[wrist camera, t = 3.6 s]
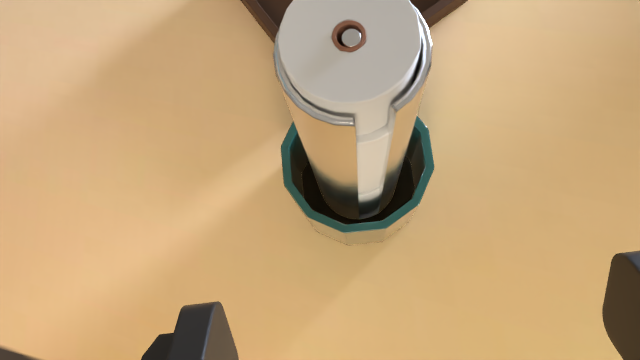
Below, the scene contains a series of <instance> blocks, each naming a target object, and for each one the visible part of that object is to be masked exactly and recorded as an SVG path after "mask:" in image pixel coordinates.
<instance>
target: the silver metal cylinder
mask: <svg viewBox="0 0 640 360" xmlns="http://www.w3.org/2000/svg"><path fill="white" fill-rule="evenodd" d="M273 59H274V66H275V72H276V77H277V79H278V82H279V84H280V87H281V90H282V92H283V95H284V98H285V100H286V103H287V105H288V108H289V111H290V113H291V116H292V118H293V121H294V124H295V126H296V129H297V131H298V134H299V137H300V139H301V142H302V144H303V147H304V150H305V152H306V155H307V157H308V160H309V163H310V165H311V168H312V170H313V173H314V176H315V178H316V181H317V183H318V186H319V189H320V191H321V194H322V196H323V198H324V200H325V202H326V203H327V205H328V206H329V207H330V208H331V209H332V210H333V211H334V212H336V213H337V214H339V215H341V216H343V217H346V218H349V219H365V218H370V217H372V216H374V215H376V214H378V213H380V212H381V211H382V210H383V209H384V208H386V207H387V205H388V204H389V202H390V201H391V199H392V197H393V194H394V191H395V188H396V185H397V181H398V178H399V175H400V171H401V168H402V164H403V161H404V158H405V154H406V151H407V147H408V144H409V140H410V137H411V134H412V130H413V127H414V123H415V120H416V116H417V113H418V110H419V106H420V103H421V99H422V96H423V93H424V89H425V86H426V82H427V79H428V75H429V72H430V69H431V63H432V42H431V38H430V33H429V29H428V26H427V24H426V22H425V21H424V19H423V17H422V15H421V14H420V12H419V10H418V9H417V8H416V7H415V6H414V5H413V4H412V3H411V2H410V0H293V1H292V3H291V4H290V5H289V7H288V8H287V9H286V12H285V14H284V17H283V19H282V22H281V24H280V28H279V30H278V33H277V35H276V38H275V46H274V53H273Z"/></svg>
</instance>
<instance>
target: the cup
mask: <svg viewBox="0 0 640 360" xmlns="http://www.w3.org/2000/svg"><path fill="white" fill-rule="evenodd" d="M281 155H282V167H283V179H284V185H285V187H286V189H287V190H288V192H289V193H290V195H291V196H292V198H293V199H294V200H295V202H296V203H297V205H298V206H299V208H300V209H301V210H302V212H303V213H304V215H305V216H306V217H307V219H308V220H309V222H310V223H311V224H312V226H313V227H314V229H315V230H316V231H317V232H318V233H321V234H323V235H325V236H327V237H330V238H332V239H334V240H336V241H339V242H341V243H343V244H345V245H358V244H367V243H377V242H383V241H384V240H385V239H387V238H388V237H389V236H391V235H392V234H393V233H395V232H396V231H397V230H399V229H400V228H402V227H403V226H404V225H406V224H407V223H408V222H409V221H410V219H411V218H412V216H413V214H414V212H415V211H416V209H417V207H418V205H419V204H420V201H421V199H422V196H423V194H424V192H425V189H426V187H427V185H428V182H429V180H430V177H431V175H432V173H433V170H434V162H433V155H432V149H431V142H430V136H429V130H428V128H427V127H426V126H425V124H424V123H423V122H422V121H421V120H420V118H419V117H418V116H416V120H415V123H414V127H413V130H412V134H411V137H410V140H409V144H408V147H407V151H406V154H405V156H406V157H407V158H408V159H409V161H410V162H411V169H412V176H413V183H414V193H413V195H412V198H411V200H410V201H409V202H407V203H406V204H404V205H403V206H402V207H400V208H399V209H398V210H396V211H395V212H394V213H392V214H391V215H389V216H388V217H387V218H385V219H384V220H383V221H375V222H366V223H356V224H347V225H346V224H343V223H341V222H339V221H336V220H334V219H332V218H329V217H327V216H325V215H323V214H320V213H318V212H316V211H313V210H312V209H311V207H310V206H309V204H308V203H307V202H306V200H305V199H304V192H303V181H302V173H303V171H304V169H305V167H306V164H307V162H308V157H307V155H306V152H305V150H304V147H303V144H302V142H301V139H300V137H299V134H298V131H297V129H296V126H295V124H294V121H293V123H292V125H291V127H290V129H289V131H288V133H287V135H286V137H285V139H284V141H283V143H282V145H281Z"/></svg>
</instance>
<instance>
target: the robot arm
mask: <svg viewBox="0 0 640 360" xmlns="http://www.w3.org/2000/svg"><path fill="white" fill-rule="evenodd" d="M602 314H603V322H604V326H605V329H606V332H607V334H608V336H609V338H610V340H611V342H612V343H613V345H614V346H615V348H616V349H617V351H618V352H619V354H620V355H621V357H622V358H623V360H640V251H634V252H626V253H618V254H616V255H615V256H614V257H613V259H612V262H611V267H610V272H609V277H608V282H607V288H606V293H605V298H604V304H603V312H602ZM141 360H239V359H238V353H237V349H236V346H235V343H234V340H233V337H232V334H231V331H230V328H229V325H228V322H227V318H226V315H225V312H224V309H223V306H222V304H221V303H220V302H210V303H202V304H194V305H186V306H183V307H182V308H181V310H180V313H179V317H178V320H177V324H176V327H175V330H174V333H168V334H160V335H159V336H158V337H157V338H156V339H155V341H154V342H153V343H152V345H151V346H150V347H149V348H148V350H147V351H146V352H145V353H144V355H143V356H142V359H141Z"/></svg>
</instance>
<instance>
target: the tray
mask: <svg viewBox="0 0 640 360" xmlns="http://www.w3.org/2000/svg"><path fill="white" fill-rule="evenodd" d="M241 1H242V3H243V4H244V5H245V6H246V8H247V9H248V10H249V12H250V13H251V14H252V15H253V17H254V18H255V19H256V21H257V22H258V23H259V24H260V26H261V27H262V28H263V30H264V31H265V32H266V33H267V35H268V36H269V37H270V38H271V40H272V41H273V42H274V44H275V38H276V35H277V33H278V30H279V28H280V24H281V22H282V19H283V17H284V14H285V12H286V9H287V8H288V7H289V5H290V4H291V3H292V1H293V0H241ZM466 1H468V0H410V2H411V3H412V4H413V5H414V6H415V7H416V8H417V9H418V10H419V12H420V14H421V15H422V17H423V19H424V21H425V22H426V24H427V26H428V28H429V27H431V26H432V25H434V24H435V23H437V22H438V21H439V20H441V19H442V18H444V17H445V16H446V15H448V14H449V13H451V12H452V11H454V10H455V9H456V8H458V7H459V6H461V5H462V4H463V3H465V2H466Z"/></svg>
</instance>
